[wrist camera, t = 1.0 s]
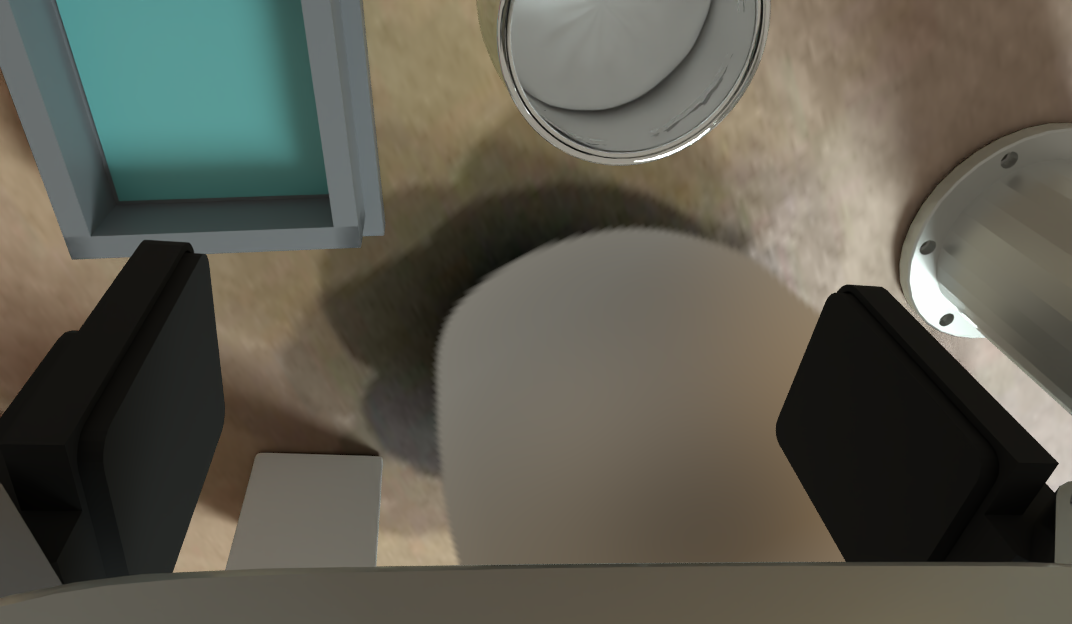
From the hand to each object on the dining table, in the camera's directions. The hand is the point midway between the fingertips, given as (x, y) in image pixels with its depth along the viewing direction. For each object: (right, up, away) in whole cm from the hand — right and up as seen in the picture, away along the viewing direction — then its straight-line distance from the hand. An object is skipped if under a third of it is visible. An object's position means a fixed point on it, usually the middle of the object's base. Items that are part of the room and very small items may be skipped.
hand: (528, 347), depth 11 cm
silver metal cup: (+1, +15, +19) cm, 24 cm away
